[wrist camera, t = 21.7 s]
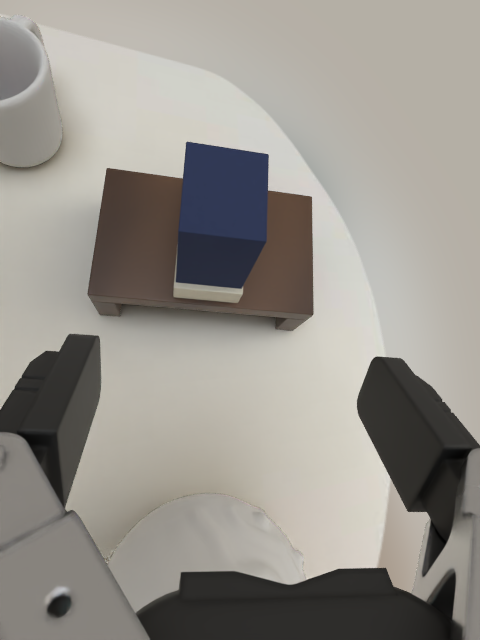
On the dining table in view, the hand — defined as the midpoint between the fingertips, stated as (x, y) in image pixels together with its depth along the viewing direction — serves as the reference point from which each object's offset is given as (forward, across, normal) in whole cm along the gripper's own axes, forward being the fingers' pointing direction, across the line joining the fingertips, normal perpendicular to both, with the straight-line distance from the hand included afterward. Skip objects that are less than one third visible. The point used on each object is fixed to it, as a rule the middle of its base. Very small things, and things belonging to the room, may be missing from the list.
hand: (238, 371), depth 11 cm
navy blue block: (+19, 0, +2) cm, 19 cm away
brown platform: (+22, 0, +6) cm, 23 cm away
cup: (+31, +16, -2) cm, 35 cm away
